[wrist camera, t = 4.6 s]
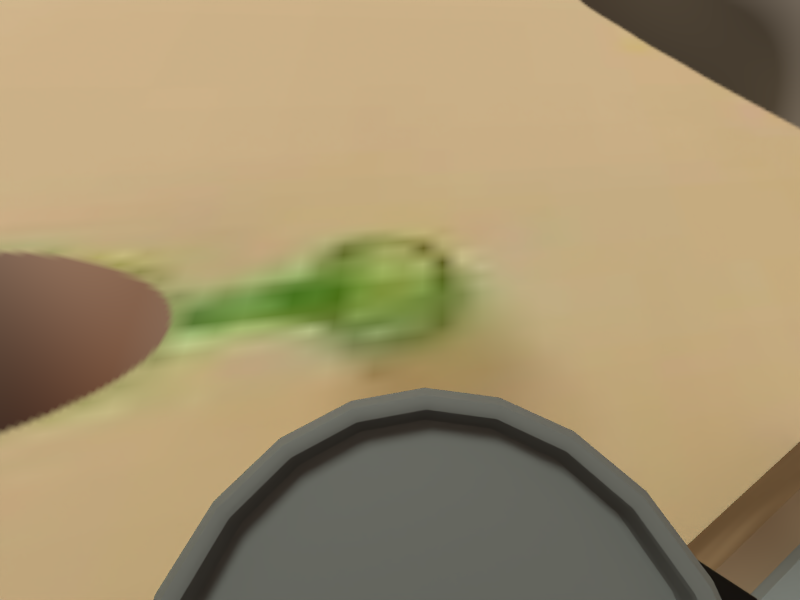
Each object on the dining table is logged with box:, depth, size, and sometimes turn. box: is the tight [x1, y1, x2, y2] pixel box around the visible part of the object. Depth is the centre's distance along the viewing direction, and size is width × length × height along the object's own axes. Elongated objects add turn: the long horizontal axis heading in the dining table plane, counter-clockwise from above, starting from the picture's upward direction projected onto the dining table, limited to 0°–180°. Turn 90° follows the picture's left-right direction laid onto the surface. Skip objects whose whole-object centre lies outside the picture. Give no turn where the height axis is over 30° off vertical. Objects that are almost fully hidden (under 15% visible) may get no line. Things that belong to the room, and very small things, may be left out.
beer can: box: [154, 388, 722, 600], centre depth 9 cm, size 7×7×12 cm
